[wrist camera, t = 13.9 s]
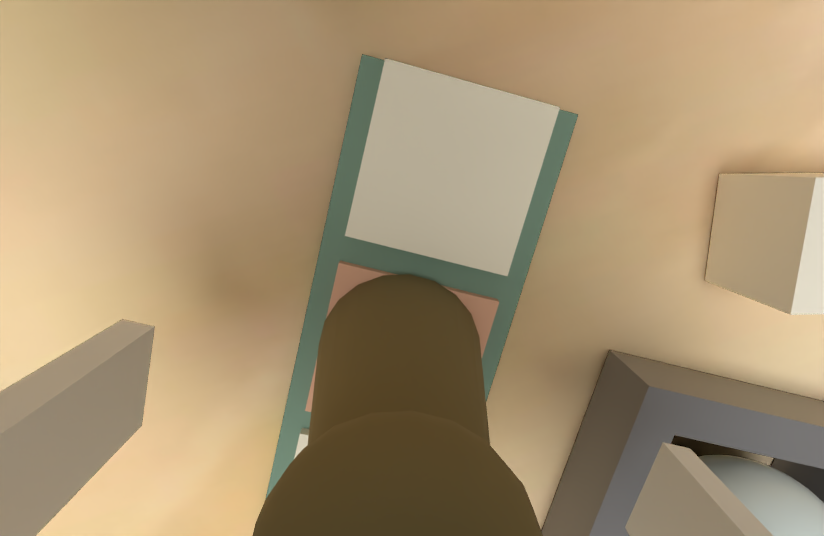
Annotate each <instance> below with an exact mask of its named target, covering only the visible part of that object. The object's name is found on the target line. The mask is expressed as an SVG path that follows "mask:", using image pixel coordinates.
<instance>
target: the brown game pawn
mask: <svg viewBox="0 0 824 536" xmlns="http://www.w3.org/2000/svg"><path fill="white" fill-rule="evenodd" d="M253 536H543V535H542V532H541V529H540V526H539V524H538V521H537V518H536V515H535V513H534V510H533V507H532V505H531V502H530V500H529V497H528V495H527V492H526V490H525V488H524V485H523V484H522V483H521V481H520V480H519V479H518V478H517V477H516V475H515V474H514V473H513V472H512V471H511V469H510V468H509V467H508V466H507V465H506V464H505V462H504V461H503V460H502V459H501V458H500V457H499V455H498V454H497V453H496V452H495V451H494V450H493V448H492V447H491V446H490V441H489V430H488V420H487V410H486V399H485V389H484V378H483V368H482V358H481V347H480V337H479V334H478V331H477V328H476V326H475V323H474V320H473V317H472V314H471V313H470V312H469V310H468V309H467V308H466V307H465V305H464V304H463V303H462V302H461V301H460V299H459V298H458V297H457V296H456V295H455V294H454V293H452V292H451V291H449V290H448V289H446V288H445V287H443V286H442V285H440V284H438V283H437V282H435V281H433V280H429V279H425V278H422V277H418V276H414V275H410V274H402V275H383V276H380V277H377V278H374V279H372V280H369V281H366V282H363V283H361V284H358V285H357V286H356V287H354V288H353V289H352V290H351V291H349V292H348V293H347V294H345V295H344V296H343V297H342V298H340V299H339V300H338V301H337V303H336V304H335V306H334V307H333V309H332V310H331V312H330V313H329V315H328V317H327V318H326V320H325V322H324V326H323V330H322V334H321V338H320V341H319V347H318V356H317V365H316V374H315V383H314V392H313V401H312V409H311V418H310V427H309V436H308V445H307V446H306V447H305V448H304V449H303V450H302V451H301V452H300V453H299V454H298V455H297V456H296V458H295V459H294V460H293V461H292V462H291V463H290V464H289V466H288V467H287V469H286V470H285V472H284V473H283V475H282V476H281V478H280V479H279V480H278V482H277V483H276V485H275V486H274V488H273V489H272V491H271V492H270V494H269V495H268V496H267V498H266V500H265V503H264V505H263V507H262V510H261V512H260V514H259V517H258V519H257V521H256V524H255V528H254V533H253Z"/></svg>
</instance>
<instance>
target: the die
mask: <svg viewBox="0 0 824 536" xmlns="http://www.w3.org/2000/svg"><path fill="white" fill-rule="evenodd" d="M705 281H707V282H709V283H712V284H714V285H717V286H719V287H722V288H724V289H727V290H729V291H732V292H734V293H737V294H740V295H742V296H745V297H747V298H750V299H752V300H755V301H757V302H760V303H762V304H765V305H767V306H770V307H773V308H775V309H778V310H780V311H783V312H785V313H788V314H790V315H800V314H824V173H742V174H719V180H718V187H717V195H716V202H715V209H714V217H713V224H712V231H711V238H710V246H709V253H708V260H707V268H706V275H705Z"/></svg>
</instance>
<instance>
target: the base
mask: <svg viewBox="0 0 824 536" xmlns="http://www.w3.org/2000/svg"><path fill="white" fill-rule="evenodd" d="M674 435H676V436H681V437H685V438H690V439H694V440H698V441H703V442H707V443H712V444H716V445H720V446H725V447H729V448H734V449H738V450H742V451H747V452H751V453H755V454H760V455H764V456H769V457H773V458H775V459H774V461H773V463H772V465H771V467H773V468H775V469H777V470H779V471H781V472H783V473H785V474H787V475H789V476H790V477H792V478H793V479H795V480H796V481H798V482H799V483H801V484H802V485H804V486H805V487H806V488H808V489H809V490H810V491H811V492H813V493H814V494H815V495H816V496H817V497H818V498H819V499H820V500H821V501H823V502H824V401H820V400H816V399H812V398H808V397H803V396H799V395H795V394H791V393H787V392H783V391H778V390H774V389H770V388H766V387H762V386H758V385H753V384H749V383H745V382H741V381H737V380H733V379H729V378H724V377H720V376H716V375H712V374H708V373H704V372H699V371H695V370H691V369H687V368H683V367H679V366H674V365H670V364H666V363H662V362H658V361H654V360H649V359H645V358H641V357H637V356H633V355H629V354H624V353H620V352H616V351H612V350H609V353H608V355H607V358H606V361H605V363H604V366H603V369H602V371H601V374H600V377H599V379H598V382H597V385H596V387H595V390H594V393H593V395H592V398H591V401H590V403H589V406H588V409H587V411H586V414H585V417H584V419H583V422H582V425H581V427H580V430H579V433H578V435H577V438H576V441H575V443H574V446H573V449H572V451H571V454H570V457H569V459H568V462H567V465H566V467H565V470H564V473H563V475H562V478H561V481H560V483H559V486H558V489H557V491H556V494H555V497H554V499H553V502H552V505H551V507H550V510H549V513H548V515H547V518H546V521H545V523H544V526H543V529H542V531H541V532H542V535H543V536H630V535H629V534H628V532H627V530H626V529H625V526H626V524H627V522H628V519H629V517H630V515H631V513H632V510H633V508H634V506H635V504H636V501H637V499H638V497H639V495H640V492H641V490H642V488H643V486H644V483H645V481H646V479H647V477H648V474H649V472H650V470H651V468H652V465H653V463H654V461H655V459H656V456H657V454H658V452H659V450H660V447H661V445H662V443H663V442H664V443H669V444H671V442H672V440H673V438H674Z"/></svg>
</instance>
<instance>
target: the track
mask: <svg viewBox="0 0 824 536" xmlns="http://www.w3.org/2000/svg"><path fill="white" fill-rule="evenodd" d="M577 117H578V114H574V113H571V112H567V111H563V110H560V107H558V106H554V105H551V104H547V103H544V102H540V101H536V100H533V99H529V98H526V97H522V96H519V95H515V94H511V93H508V92H504V91H501V90H497V89H494V88H490V87H486V86H483V85H479V84H476V83H472V82H469V81H465V80H462V79H458V78H454V77H451V76H447V75H444V74H440V73H437V72H433V71H429V70H426V69H422V68H419V67H415V66H412V65H408V64H404V63H401V62H397V61H394V60H390V59H387V58H385V60H381V59H378V58H374V57H371V56H367V55H363V54H362V57H361V62H360V66H359V71H358V76H357V80H356V85H355V89H354V94H353V99H352V103H351V108H350V112H349V117H348V122H347V126H346V131H345V136H344V140H343V145H342V149H341V154H340V159H339V163H338V168H337V172H336V177H335V182H334V186H333V191H332V196H331V200H330V205H329V209H328V214H327V219H326V223H325V228H324V232H323V237H322V242H321V246H320V251H319V256H318V260H317V265H316V269H315V274H314V279H313V283H312V288H311V292H310V297H309V302H308V306H307V311H306V315H305V320H304V325H303V329H302V334H301V339H300V343H299V348H298V352H297V357H296V362H295V366H294V371H293V375H292V380H291V385H290V389H289V394H288V399H287V403H286V408H285V412H284V417H283V422H282V426H281V431H280V435H279V440H278V445H277V449H276V454H275V459H274V463H273V468H272V472H271V477H270V482H269V486H268V491H267V495H266V498H267V496H268V495H269V494H270V492H271V491H272V489H273V488H274V486H275V485H276V483H277V482H278V480H279V479H280V478H281V476H282V475H283V473H284V472H285V470H286V469H287V467H288V466H289V464H290V463H291V462H292V461H293V460H294V459H295V458H296V456H297V455H298V454H299V453H300V452H301V451H302V450H303V449H304V448H305V447H306V446H307V445H308V436H309V427H310V418H311V409H312V401H313V392H314V383H315V374H316V365H317V356H318V347H319V341H320V338H321V334H322V330H323V326H324V322H325V320H326V318H327V317H328V315H329V313H330V312H331V310H332V309H333V307H334V306H335V304H336V303H337V301H338V300H339V299H340V298H342V297H343V296H344V295H345V294H347V293H348V292H349V291H351V290H352V289H353V288H354V287H356V286H357V285H358V284H361V283H363V282H366V281H369V280H372V279H374V278H377V277H380V276H383V275H402V274H410V275H414V276H418V277H422V278H425V279H429V280H433V281H435V282H437V283H438V284H440V285H442V286H443V287H445V288H446V289H448V290H449V291H451V292H452V293H454V294H455V295H456V296H457V297H458V298H459V299H460V301H461V302H462V303H463V304H464V305H465V307H466V308H467V309H468V310H469V312H470V313H471V314H472V317H473V320H474V323H475V326H476V328H477V331H478V334H479V337H480V347H481V358H482V368H483V378H484V389H485V399H486V401H487V397H488V394H489V391H490V388H491V385H492V382H493V379H494V376H495V372H496V369H497V366H498V363H499V360H500V357H501V354H502V351H503V348H504V344H505V341H506V338H507V335H508V332H509V329H510V326H511V323H512V319H513V316H514V313H515V310H516V307H517V304H518V301H519V298H520V295H521V291H522V288H523V285H524V282H525V279H526V276H527V273H528V270H529V266H530V263H531V260H532V257H533V254H534V251H535V248H536V245H537V242H538V238H539V235H540V232H541V229H542V226H543V223H544V220H545V217H546V213H547V210H548V207H549V204H550V201H551V198H552V195H553V192H554V189H555V185H556V182H557V179H558V176H559V173H560V170H561V167H562V164H563V160H564V157H565V154H566V151H567V148H568V145H569V142H570V139H571V136H572V132H573V129H574V126H575V123H576V120H577Z"/></svg>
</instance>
